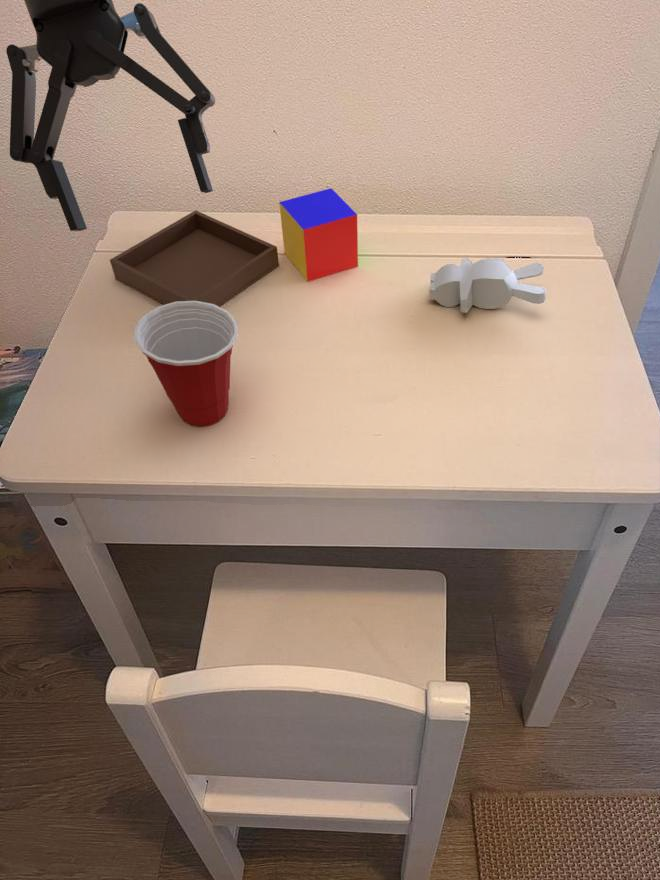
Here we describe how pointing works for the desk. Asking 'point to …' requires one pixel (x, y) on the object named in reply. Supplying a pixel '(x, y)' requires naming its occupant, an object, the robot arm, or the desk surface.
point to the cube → (319, 234)
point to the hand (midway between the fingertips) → (142, 211)
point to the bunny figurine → (484, 284)
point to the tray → (195, 261)
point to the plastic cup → (190, 356)
